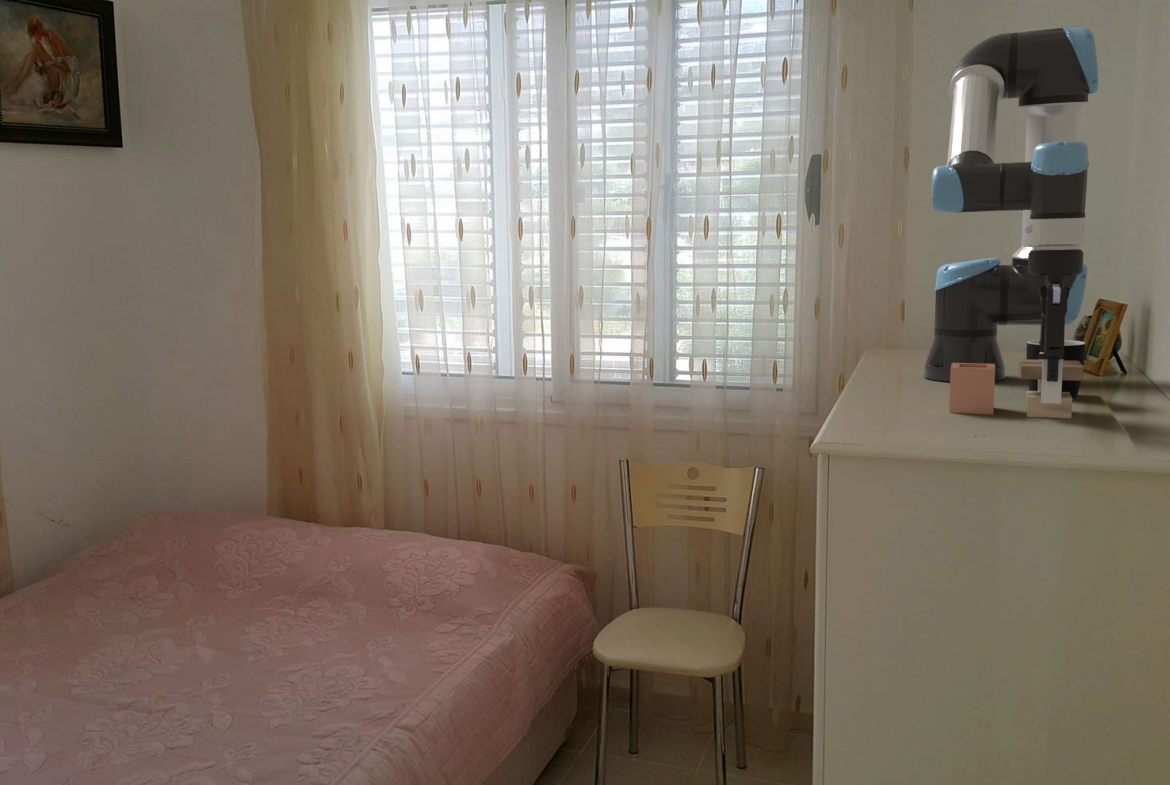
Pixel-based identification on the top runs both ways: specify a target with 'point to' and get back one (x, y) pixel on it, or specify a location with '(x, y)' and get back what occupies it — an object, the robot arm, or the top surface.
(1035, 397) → the block
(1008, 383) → the top surface
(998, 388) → the top surface
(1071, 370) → the lid
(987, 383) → the tan hollow square block
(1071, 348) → the mug
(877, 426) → the top surface
